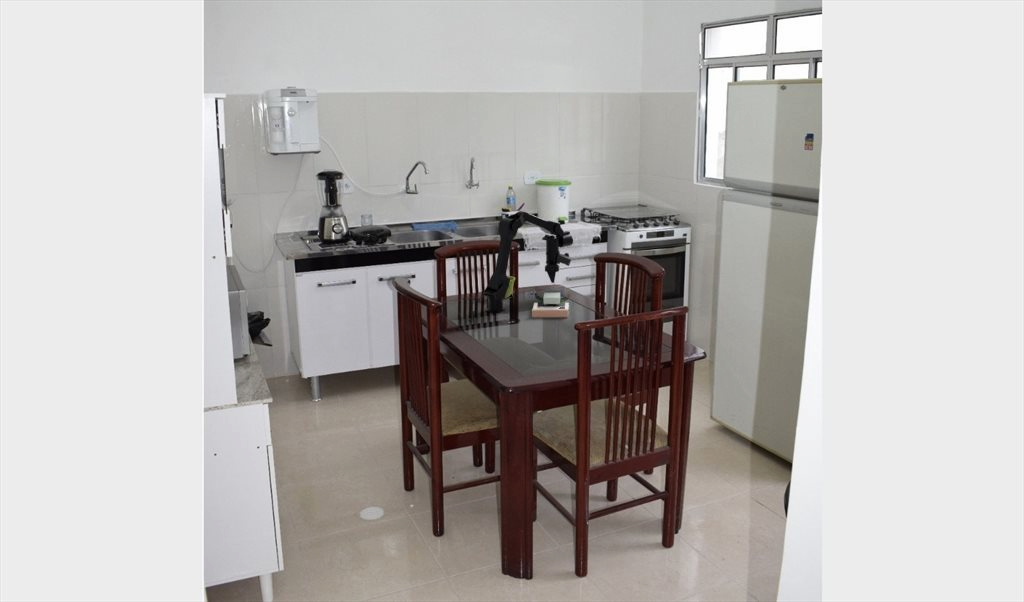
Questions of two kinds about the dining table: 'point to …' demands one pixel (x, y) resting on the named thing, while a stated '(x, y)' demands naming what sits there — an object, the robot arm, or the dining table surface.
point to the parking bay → (549, 311)
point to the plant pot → (510, 286)
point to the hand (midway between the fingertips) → (552, 282)
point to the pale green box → (551, 296)
